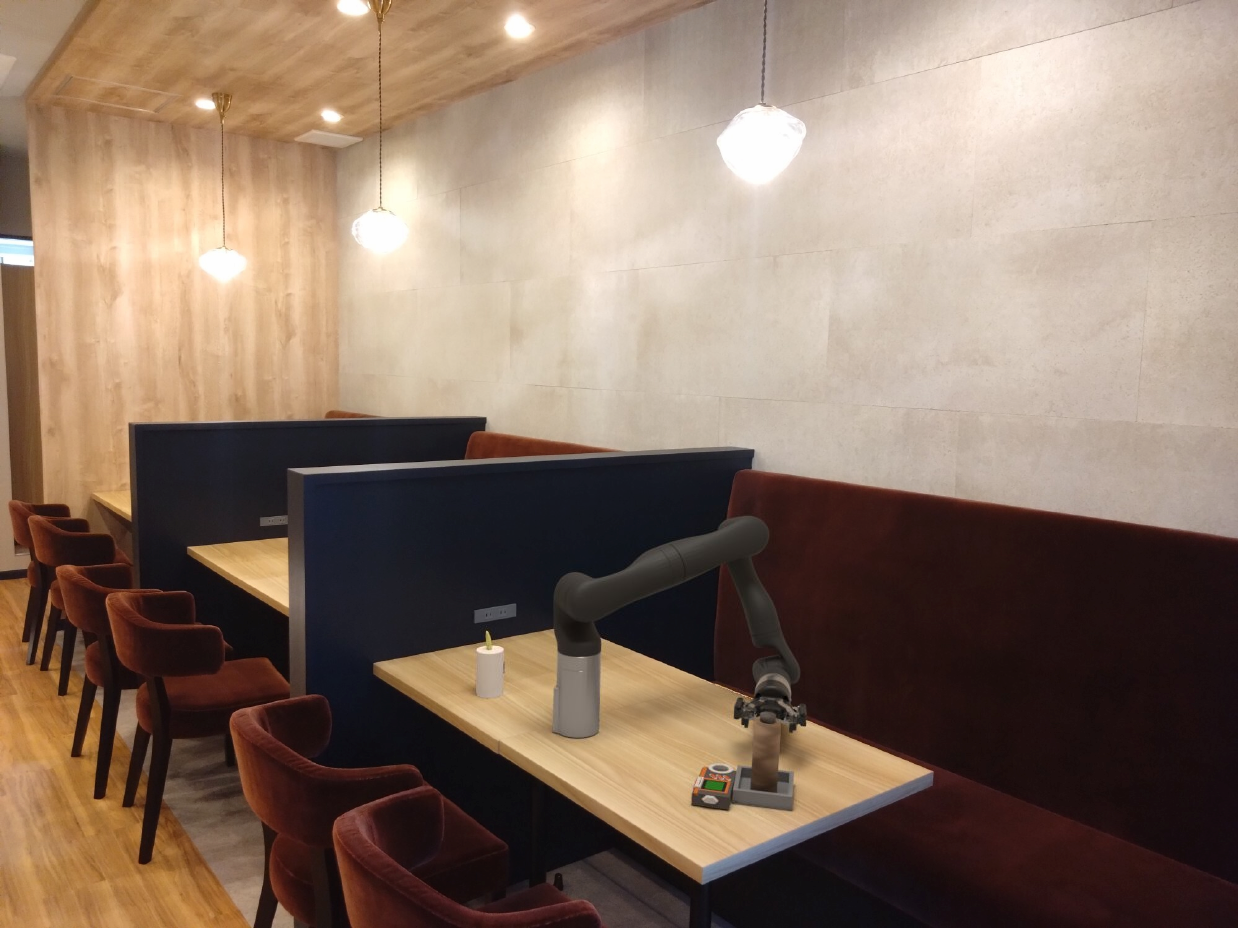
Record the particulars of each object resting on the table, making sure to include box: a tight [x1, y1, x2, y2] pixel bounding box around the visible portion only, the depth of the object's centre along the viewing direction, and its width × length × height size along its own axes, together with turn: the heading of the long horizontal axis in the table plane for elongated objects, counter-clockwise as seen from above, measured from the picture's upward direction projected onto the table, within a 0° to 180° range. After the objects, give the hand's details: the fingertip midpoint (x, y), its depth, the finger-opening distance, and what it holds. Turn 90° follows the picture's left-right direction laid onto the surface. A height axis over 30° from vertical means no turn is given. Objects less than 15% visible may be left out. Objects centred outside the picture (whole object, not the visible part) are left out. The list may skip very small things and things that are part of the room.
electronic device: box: [690, 762, 737, 810], centre depth 166 cm, size 7×3×15 cm
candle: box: [475, 630, 506, 699], centre depth 210 cm, size 6×6×15 cm
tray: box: [731, 764, 795, 811], centre depth 165 cm, size 10×10×2 cm
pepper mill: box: [750, 712, 782, 793], centre depth 164 cm, size 5×5×14 cm
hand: (768, 725), depth 174 cm, fingers open, 8 cm apart
